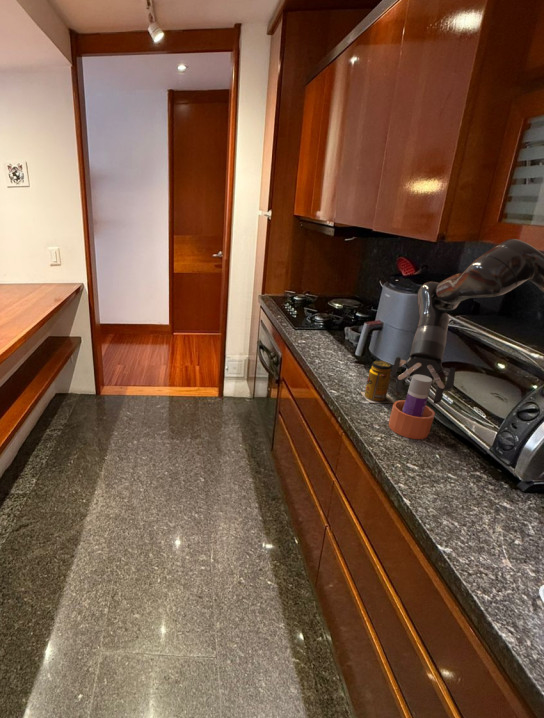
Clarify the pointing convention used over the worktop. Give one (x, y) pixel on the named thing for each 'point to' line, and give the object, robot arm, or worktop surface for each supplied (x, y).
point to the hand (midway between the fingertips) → (416, 398)
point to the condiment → (378, 383)
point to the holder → (410, 422)
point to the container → (417, 395)
